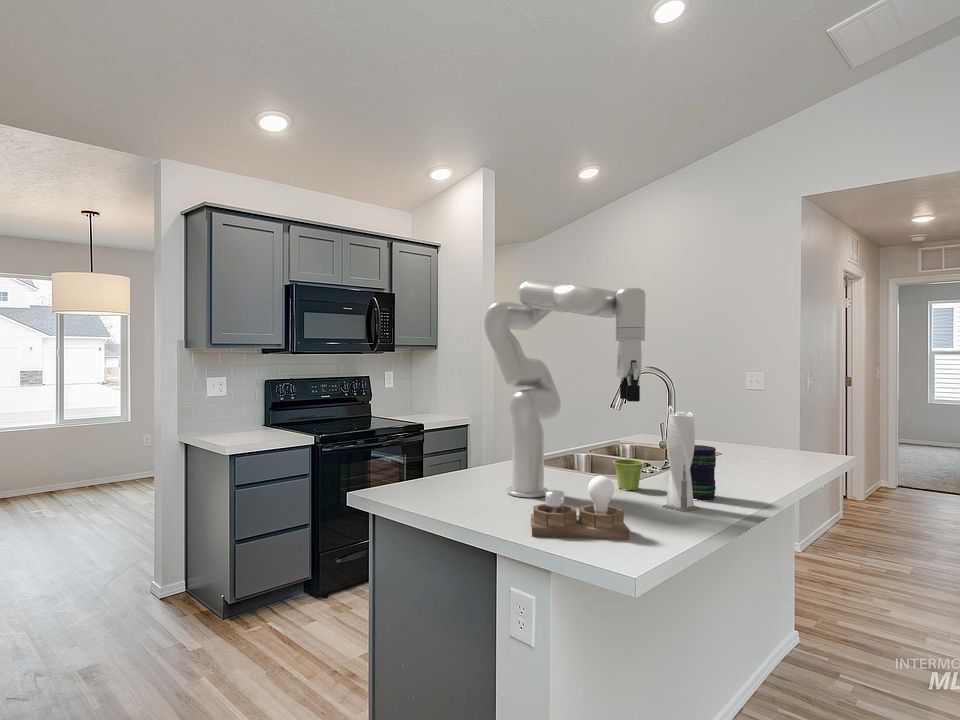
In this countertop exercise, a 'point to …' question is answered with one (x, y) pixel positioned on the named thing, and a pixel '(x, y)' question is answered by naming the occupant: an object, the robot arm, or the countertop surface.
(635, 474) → the plant pot
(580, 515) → the socket board
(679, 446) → the skyscraper
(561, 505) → the grey domed cylinder
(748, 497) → the countertop surface
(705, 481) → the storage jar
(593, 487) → the lightbulb
